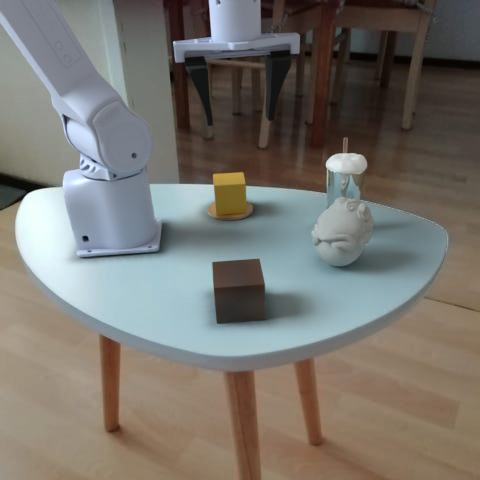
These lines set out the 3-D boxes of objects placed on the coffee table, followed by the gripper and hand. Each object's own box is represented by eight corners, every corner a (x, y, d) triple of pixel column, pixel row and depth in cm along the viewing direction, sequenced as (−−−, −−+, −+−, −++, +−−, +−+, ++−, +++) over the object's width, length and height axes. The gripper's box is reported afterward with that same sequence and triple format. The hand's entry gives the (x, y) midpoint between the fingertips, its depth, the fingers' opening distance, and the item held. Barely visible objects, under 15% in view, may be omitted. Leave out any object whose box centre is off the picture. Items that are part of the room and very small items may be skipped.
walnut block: (216, 323, 46) (213, 287, 43) (215, 295, 50) (212, 261, 47) (265, 319, 46) (265, 284, 44) (260, 292, 50) (259, 258, 47)
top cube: (216, 215, 63) (213, 185, 61) (215, 202, 67) (212, 173, 64) (246, 213, 64) (245, 183, 61) (244, 200, 67) (243, 171, 64)
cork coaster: (208, 222, 63) (208, 219, 63) (207, 202, 68) (207, 200, 67) (254, 218, 63) (254, 216, 63) (250, 199, 68) (250, 197, 68)
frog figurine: (381, 259, 54) (390, 199, 49) (342, 285, 50) (348, 222, 46) (336, 241, 57) (341, 184, 53) (297, 264, 54) (299, 204, 49)
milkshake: (357, 218, 62) (366, 137, 56) (361, 238, 58) (371, 153, 52) (320, 217, 62) (325, 137, 56) (322, 237, 58) (327, 153, 52)
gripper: (168, -1, 50) (183, 135, 58) (307, -10, 51) (303, 125, 59) (167, -6, 56) (181, 119, 64) (293, -14, 57) (291, 110, 65)
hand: (239, 121), depth 62 cm, fingers open, 7 cm apart
